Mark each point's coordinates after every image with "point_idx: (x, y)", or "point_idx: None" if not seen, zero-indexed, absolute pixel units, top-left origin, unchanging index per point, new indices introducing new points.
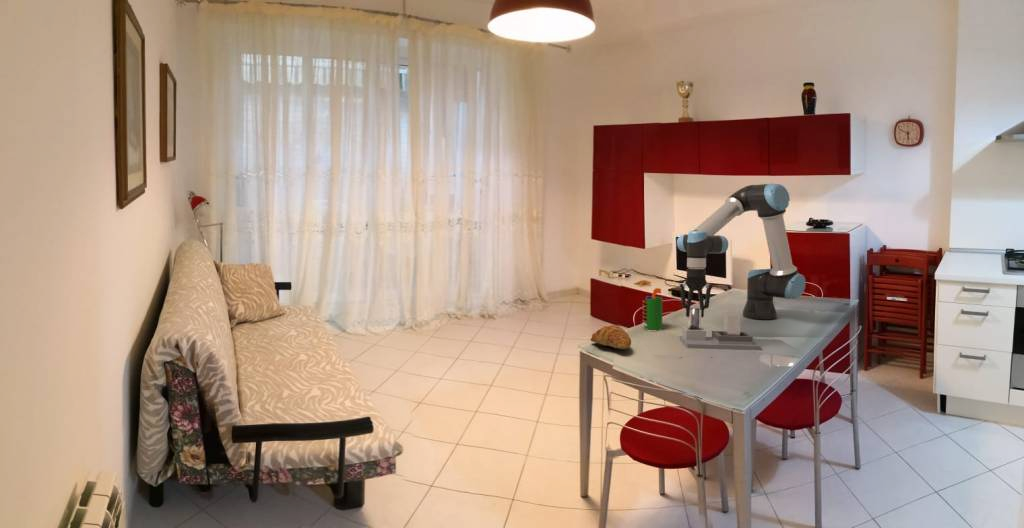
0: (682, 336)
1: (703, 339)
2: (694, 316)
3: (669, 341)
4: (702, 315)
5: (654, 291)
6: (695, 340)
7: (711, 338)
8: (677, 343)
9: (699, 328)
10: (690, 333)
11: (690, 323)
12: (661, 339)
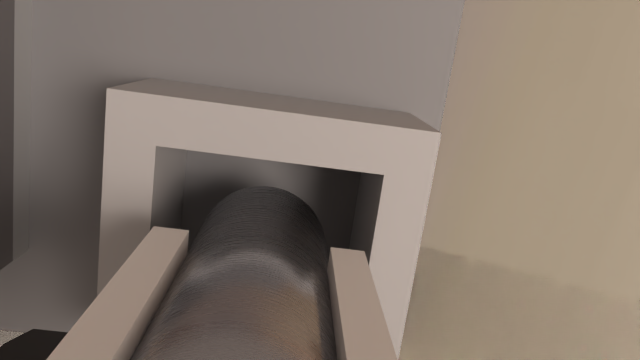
0: None
1: (182, 83)
2: (274, 308)
3: (546, 234)
4: (30, 354)
5: None
6: (297, 73)
7: (38, 220)
8: (500, 115)
9: None
10: (366, 115)
11: (350, 260)
12: (589, 344)
